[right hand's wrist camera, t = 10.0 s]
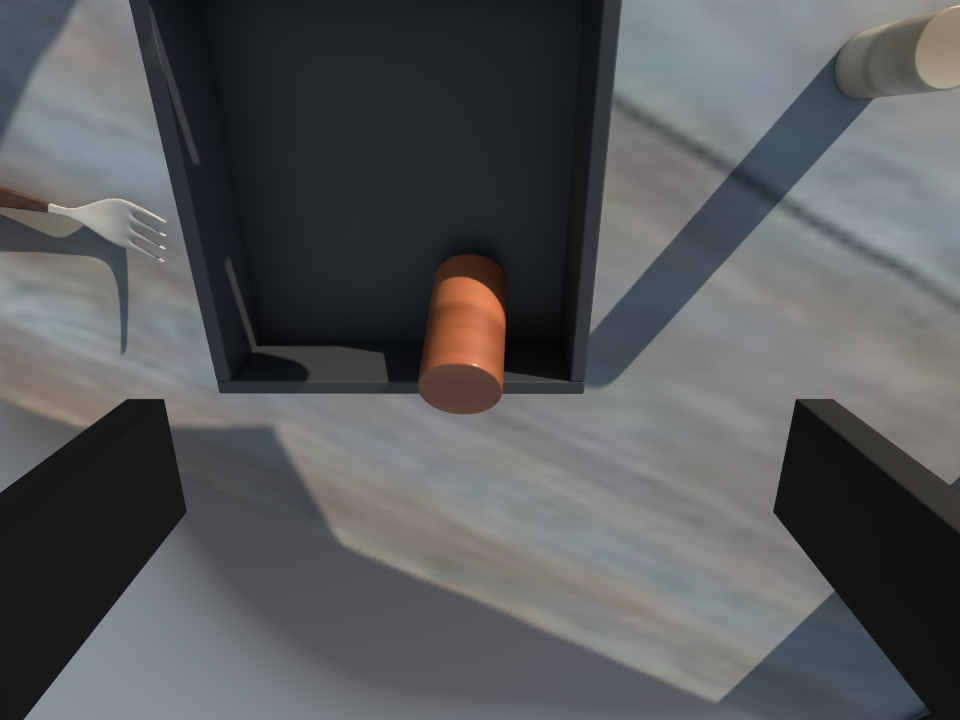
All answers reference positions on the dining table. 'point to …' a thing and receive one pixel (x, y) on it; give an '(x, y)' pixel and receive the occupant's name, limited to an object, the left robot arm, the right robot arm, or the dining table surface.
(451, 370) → the terracotta peg
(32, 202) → the fork
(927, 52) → the cream peg
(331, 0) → the tray
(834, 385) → the dining table surface
